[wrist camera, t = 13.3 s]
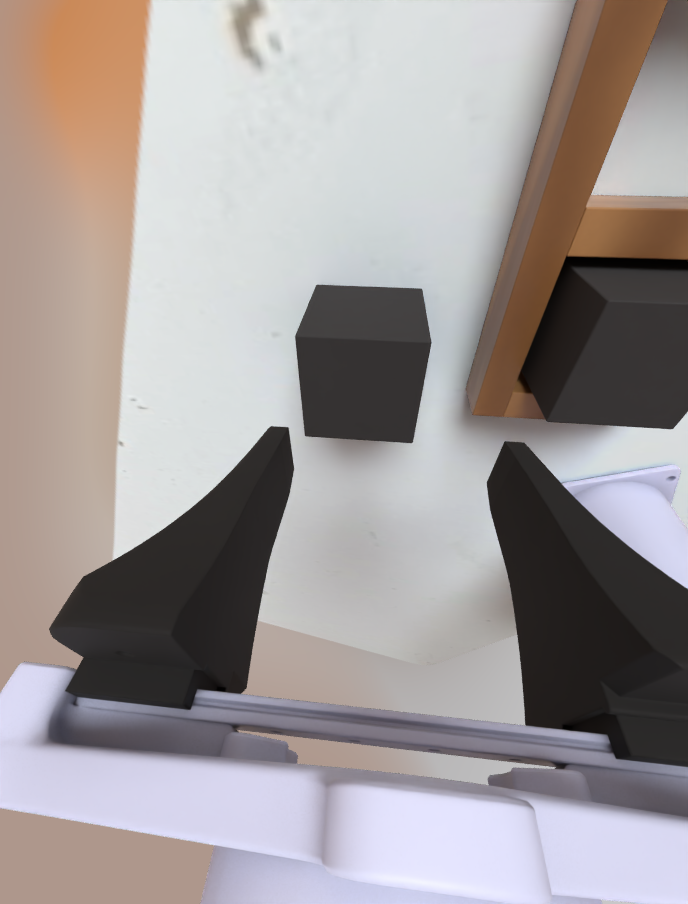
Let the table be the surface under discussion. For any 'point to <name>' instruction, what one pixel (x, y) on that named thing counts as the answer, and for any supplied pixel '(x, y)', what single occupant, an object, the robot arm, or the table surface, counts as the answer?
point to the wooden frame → (572, 197)
